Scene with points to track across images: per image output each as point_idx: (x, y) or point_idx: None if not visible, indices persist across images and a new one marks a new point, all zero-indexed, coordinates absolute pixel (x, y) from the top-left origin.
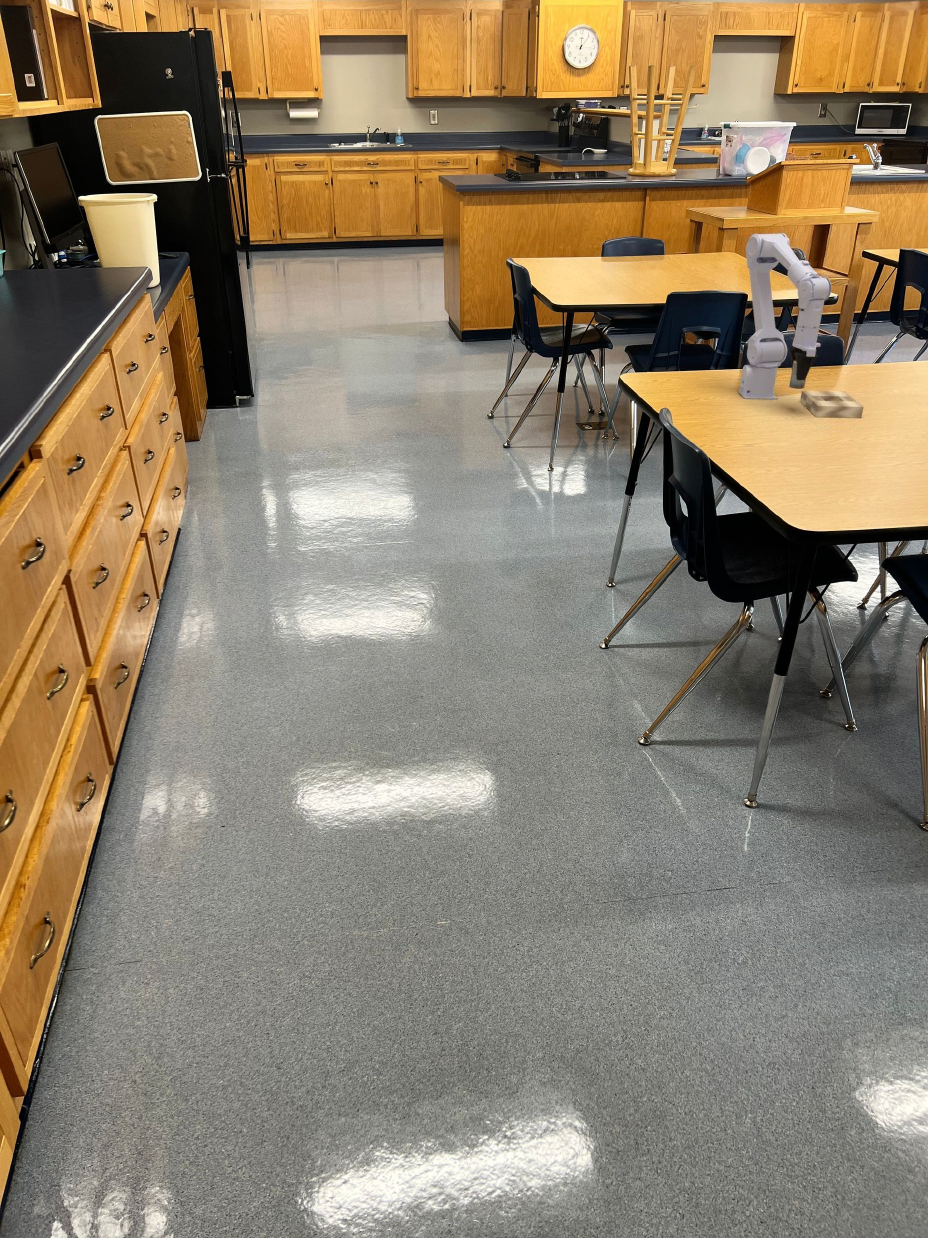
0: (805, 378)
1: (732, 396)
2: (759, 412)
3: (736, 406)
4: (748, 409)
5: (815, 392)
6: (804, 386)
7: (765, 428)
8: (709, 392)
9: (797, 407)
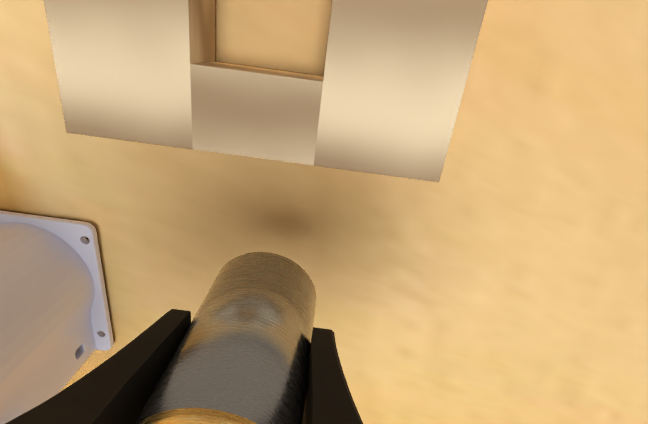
0: (334, 338)
1: None
2: None
3: None
4: None
5: (96, 53)
6: (294, 268)
7: (528, 403)
8: None
9: (228, 176)
